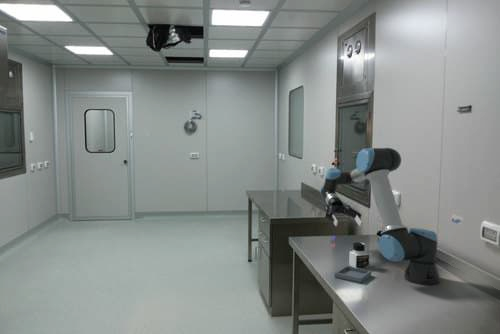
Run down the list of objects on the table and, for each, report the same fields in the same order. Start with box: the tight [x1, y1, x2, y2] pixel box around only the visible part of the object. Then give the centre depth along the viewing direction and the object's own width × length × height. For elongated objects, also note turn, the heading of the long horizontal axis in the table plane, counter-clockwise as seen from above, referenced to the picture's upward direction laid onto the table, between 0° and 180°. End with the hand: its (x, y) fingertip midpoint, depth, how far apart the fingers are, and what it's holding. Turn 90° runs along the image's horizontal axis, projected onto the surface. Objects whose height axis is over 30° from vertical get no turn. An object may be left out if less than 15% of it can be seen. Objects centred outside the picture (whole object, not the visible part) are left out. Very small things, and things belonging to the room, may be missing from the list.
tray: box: [334, 265, 372, 285], centre depth 191 cm, size 13×13×2 cm
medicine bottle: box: [348, 242, 370, 269], centre depth 206 cm, size 7×7×12 cm
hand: (349, 224), depth 210 cm, fingers open, 13 cm apart
